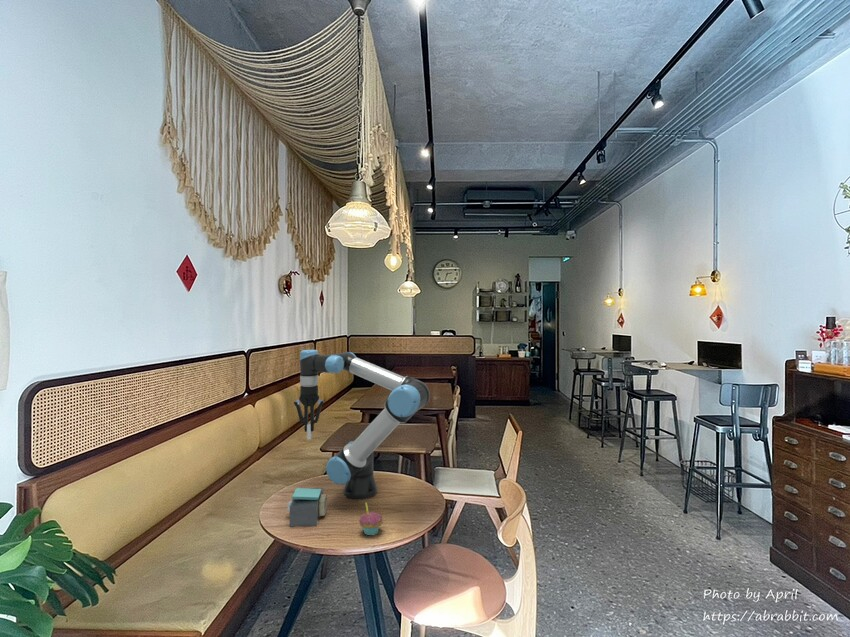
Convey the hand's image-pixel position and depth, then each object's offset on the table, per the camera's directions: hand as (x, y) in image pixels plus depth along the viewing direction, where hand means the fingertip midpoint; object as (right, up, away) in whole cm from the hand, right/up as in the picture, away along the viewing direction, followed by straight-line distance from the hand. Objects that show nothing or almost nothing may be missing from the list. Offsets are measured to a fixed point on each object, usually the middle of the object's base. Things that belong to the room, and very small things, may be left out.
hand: (309, 438), depth 187 cm
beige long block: (+4, -25, -16) cm, 30 cm away
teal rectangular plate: (+4, -18, -16) cm, 25 cm away
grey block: (+3, -27, -16) cm, 31 cm away
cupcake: (+31, -27, -29) cm, 50 cm away
